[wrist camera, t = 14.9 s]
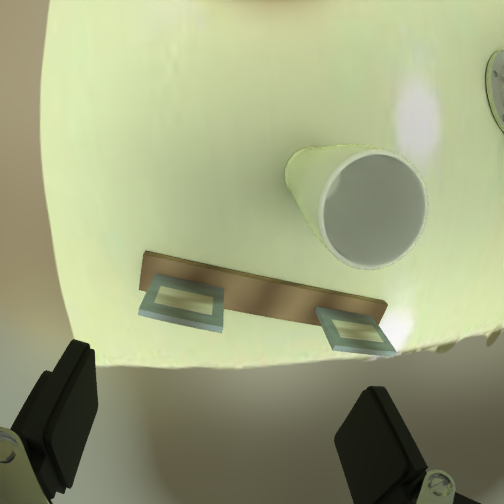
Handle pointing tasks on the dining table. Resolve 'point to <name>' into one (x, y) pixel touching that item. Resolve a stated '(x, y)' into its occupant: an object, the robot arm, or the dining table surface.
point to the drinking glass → (359, 202)
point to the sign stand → (257, 302)
